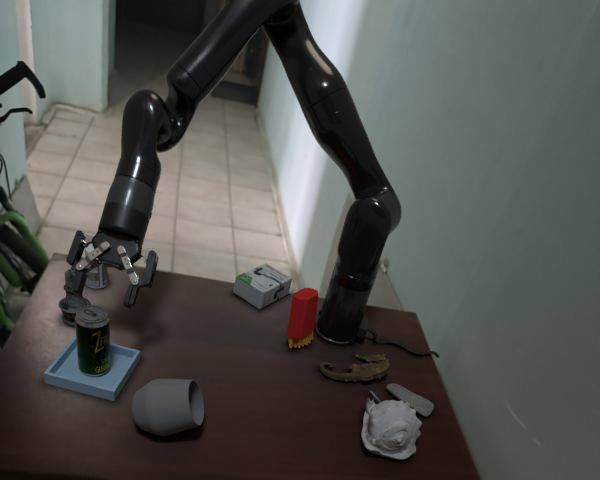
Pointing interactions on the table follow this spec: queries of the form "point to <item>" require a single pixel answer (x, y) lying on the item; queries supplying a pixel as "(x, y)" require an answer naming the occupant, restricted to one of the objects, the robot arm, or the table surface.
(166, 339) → the table surface
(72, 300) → the grey chess piece
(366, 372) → the seahorse
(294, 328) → the french fries
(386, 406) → the seashell
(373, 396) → the pen
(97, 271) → the pill bottle
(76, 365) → the tray
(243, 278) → the ink box
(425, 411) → the decorative stone
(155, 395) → the cup
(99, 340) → the beer can
